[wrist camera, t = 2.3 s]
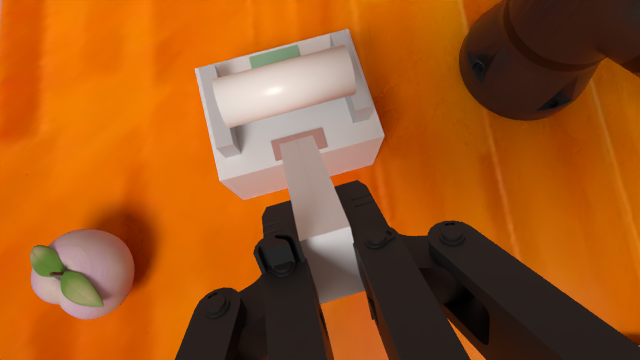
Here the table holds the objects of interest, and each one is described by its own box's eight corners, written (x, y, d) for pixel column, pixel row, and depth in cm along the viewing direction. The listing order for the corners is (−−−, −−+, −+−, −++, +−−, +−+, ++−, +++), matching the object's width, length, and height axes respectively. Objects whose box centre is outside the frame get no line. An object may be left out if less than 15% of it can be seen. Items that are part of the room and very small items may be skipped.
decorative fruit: (168, 254, 43) (121, 250, 34) (131, 322, 42) (71, 339, 32) (100, 220, 44) (36, 207, 35) (61, 285, 43) (-18, 290, 33)
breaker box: (372, 164, 45) (389, 124, 33) (243, 200, 45) (209, 173, 32) (344, 77, 48) (350, 8, 35) (222, 109, 47) (183, 51, 35)
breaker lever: (340, 96, 37) (378, 88, 22) (237, 124, 36) (204, 134, 21) (333, 65, 36) (367, 35, 21) (228, 93, 36) (187, 82, 21)
